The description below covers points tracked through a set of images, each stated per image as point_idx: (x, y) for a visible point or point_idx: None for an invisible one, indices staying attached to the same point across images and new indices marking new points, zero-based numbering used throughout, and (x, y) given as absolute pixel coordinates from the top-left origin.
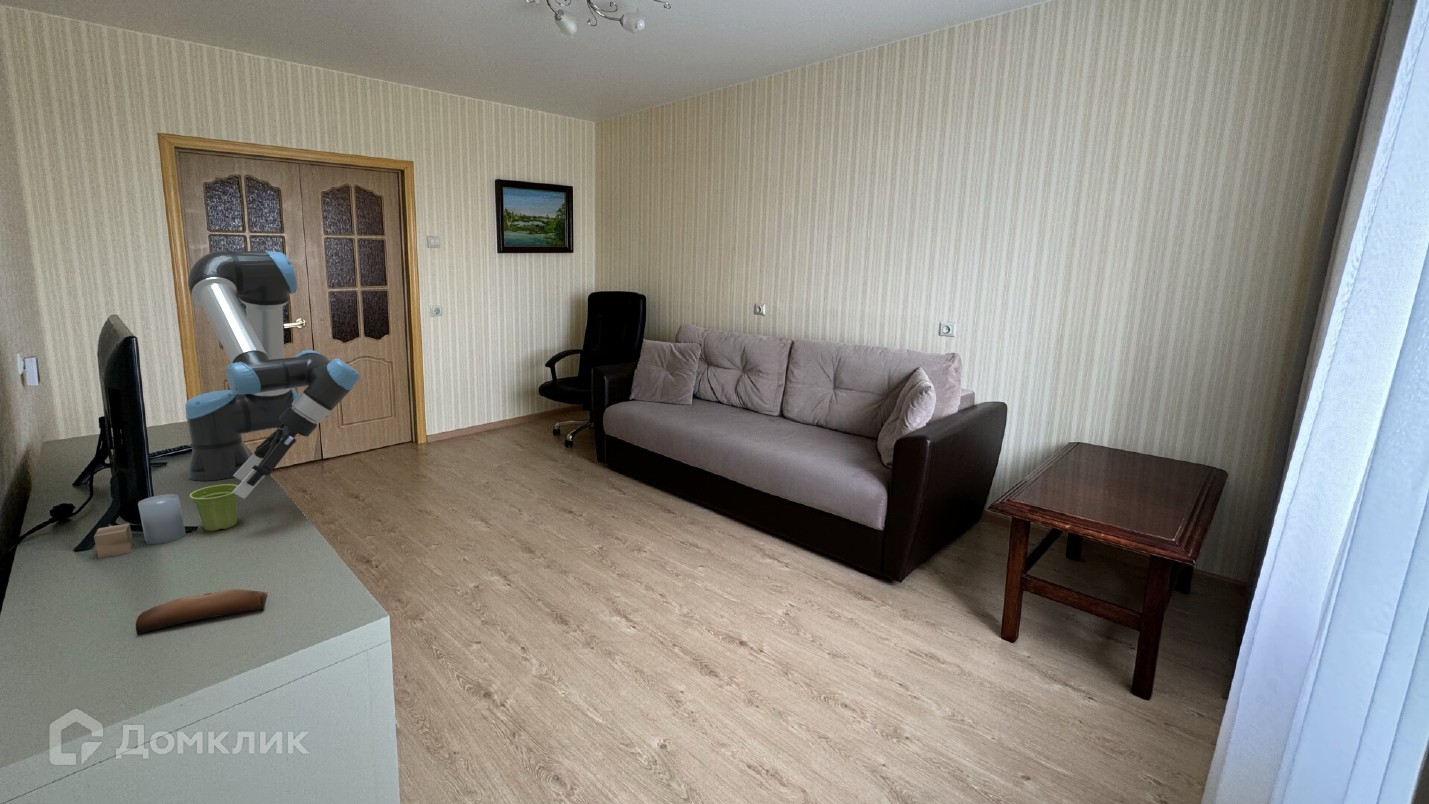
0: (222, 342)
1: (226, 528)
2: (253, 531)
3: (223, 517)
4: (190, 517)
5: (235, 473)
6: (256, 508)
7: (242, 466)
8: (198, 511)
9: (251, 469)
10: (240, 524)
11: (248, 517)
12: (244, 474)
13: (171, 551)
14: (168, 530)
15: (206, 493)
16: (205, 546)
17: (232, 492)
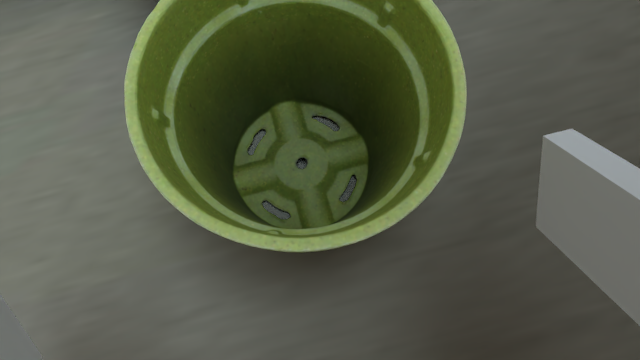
0: None
1: (250, 203)
2: (147, 356)
3: (222, 187)
4: (475, 3)
5: (572, 146)
6: (532, 273)
7: (638, 200)
8: (259, 47)
9: (634, 291)
10: (290, 256)
11: (391, 269)
12: (579, 226)
13: (39, 55)
14: None
15: (396, 20)
16: (30, 176)
17: (213, 221)
